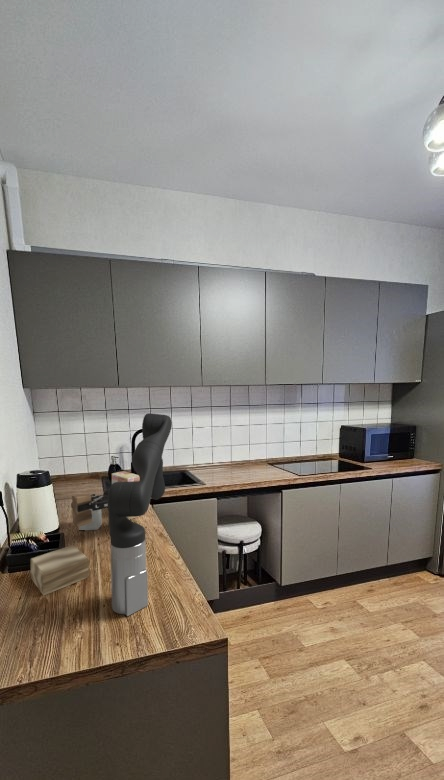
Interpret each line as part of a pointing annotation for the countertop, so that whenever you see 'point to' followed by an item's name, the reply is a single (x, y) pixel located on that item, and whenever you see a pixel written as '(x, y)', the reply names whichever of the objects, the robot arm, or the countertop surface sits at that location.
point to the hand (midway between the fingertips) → (74, 507)
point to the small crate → (82, 516)
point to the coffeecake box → (125, 479)
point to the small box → (93, 521)
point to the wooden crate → (59, 569)
